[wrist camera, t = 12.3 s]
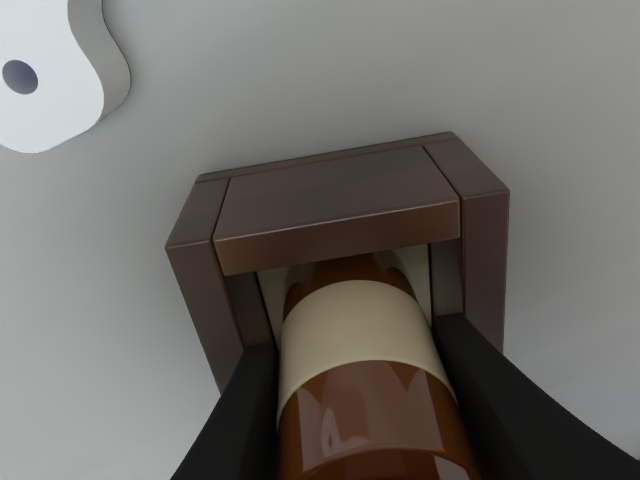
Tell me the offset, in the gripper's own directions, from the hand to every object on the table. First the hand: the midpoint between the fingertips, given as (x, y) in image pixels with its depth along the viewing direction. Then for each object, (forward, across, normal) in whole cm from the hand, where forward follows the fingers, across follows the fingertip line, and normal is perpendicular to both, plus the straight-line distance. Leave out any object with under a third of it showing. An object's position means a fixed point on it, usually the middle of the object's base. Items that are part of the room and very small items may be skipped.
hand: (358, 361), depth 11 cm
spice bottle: (+3, 0, 0) cm, 3 cm away
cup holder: (+4, 0, +6) cm, 8 cm away
